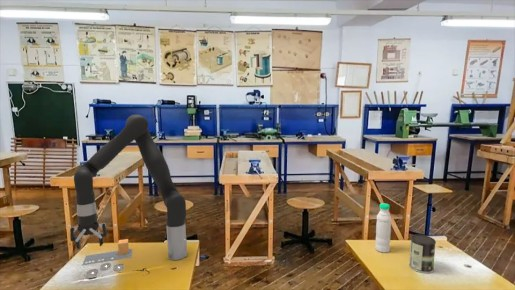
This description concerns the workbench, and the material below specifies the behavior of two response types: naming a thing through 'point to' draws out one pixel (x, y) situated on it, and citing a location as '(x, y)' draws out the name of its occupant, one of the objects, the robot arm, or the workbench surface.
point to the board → (105, 257)
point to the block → (123, 247)
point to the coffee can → (422, 253)
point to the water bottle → (383, 229)
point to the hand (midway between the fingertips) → (90, 247)
